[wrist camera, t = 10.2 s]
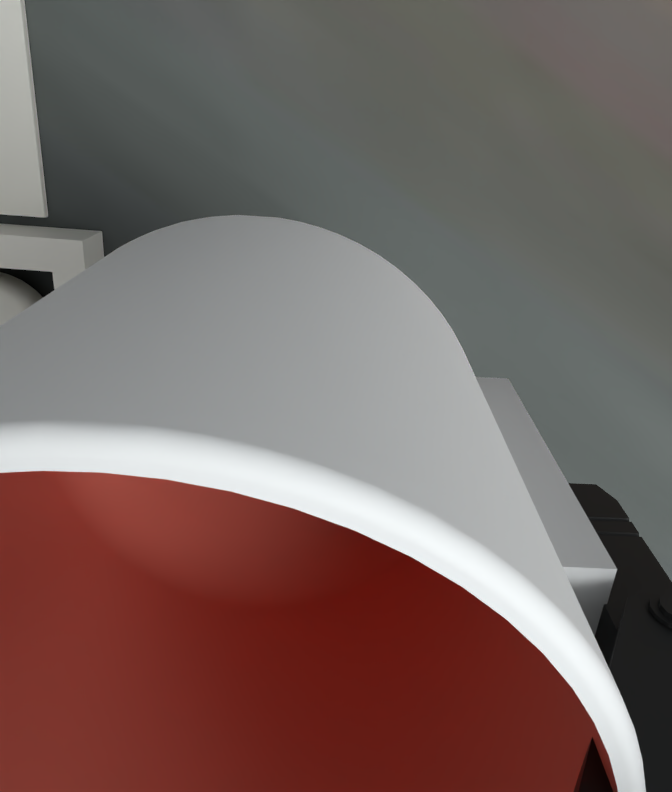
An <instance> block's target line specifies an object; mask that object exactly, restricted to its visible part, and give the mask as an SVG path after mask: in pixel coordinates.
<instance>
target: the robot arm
mask: <svg viewBox="0 0 672 792" xmlns="http://www.w3.org/2000/svg"><path fill="white" fill-rule="evenodd" d="M476 379H477V381H478V383H479V386H480V388H481V390H482V392H483V394H484V397H485V399H486V401H487V403H488V405H489V407H490V410H491V412H492V414H493V416H494V418H495V421H496V423H497V425H498V427H499V429H500V431H501V434H502V436H503V438H504V440H505V442H506V445H507V447H508V449H509V451H510V453H511V455H512V458H513V460H514V462H515V464H516V466H517V469H518V471H519V473H520V475H521V477H522V480H523V482H524V484H525V486H526V488H527V490H528V493H529V495H530V497H531V499H532V501H533V504H534V506H535V508H536V510H537V512H538V514H539V517H540V519H541V521H542V523H543V525H544V528H545V530H546V532H547V534H548V536H549V538H550V541H551V543H552V545H553V547H554V549H555V552H556V554H557V556H558V558H559V560H560V562H561V565H562V567H563V569H564V571H565V573H566V576H567V578H568V580H569V582H570V584H571V586H572V589H573V591H574V593H575V595H576V597H577V600H578V602H579V604H580V606H581V608H582V611H583V613H584V615H585V617H586V619H587V621H588V624H589V626H590V628H591V630H592V632H593V635H594V637H595V639H596V641H597V643H598V645H599V648H600V650H601V652H602V654H603V656H604V659H605V661H606V663H607V665H608V667H609V669H610V672H611V674H612V676H613V678H614V680H615V683H616V685H617V687H618V689H619V691H620V694H621V696H622V698H623V701H624V703H625V706H626V708H627V711H628V713H629V716H630V718H631V721H632V723H633V726H634V728H635V732H636V736H637V740H638V744H639V748H640V752H641V756H642V760H643V768H644V778H645V787H646V792H672V582H671V580H670V579H669V577H668V576H667V574H666V573H665V571H664V570H663V568H662V567H661V565H660V564H659V562H658V561H657V559H656V558H655V556H654V555H653V553H652V552H651V550H650V549H649V547H648V546H647V545H646V543H645V542H644V540H643V539H642V537H639V533H638V531H637V530H636V528H635V527H634V525H633V524H632V522H629V518H628V516H627V515H626V513H625V512H624V510H623V509H622V507H621V506H620V504H619V503H618V501H617V500H616V499H614V498H613V497H612V496H610V495H609V494H608V493H606V492H605V491H604V490H603V489H601V488H600V487H599V486H597V485H594V484H570V483H568V482H567V480H566V479H565V477H564V475H563V473H562V472H561V470H560V468H559V466H558V465H557V463H556V461H555V459H554V458H553V456H552V454H551V452H550V451H549V449H548V447H547V445H546V444H545V442H544V440H543V438H542V437H541V435H540V433H539V431H538V430H537V428H536V426H535V424H534V423H533V421H532V419H531V417H530V416H529V414H528V412H527V410H526V409H525V407H524V405H523V403H522V402H521V400H520V398H519V396H518V395H517V393H516V391H515V389H514V388H513V386H512V384H511V382H510V381H509V379H508V378H486V377H476ZM574 792H613V790H612V787H611V784H610V782H609V779H608V777H607V774H606V771H605V769H604V766H603V763H602V761H601V758H600V756H599V753H598V750H597V748H596V745H595V742H594V740H593V737H592V738H591V741H590V744H589V746H588V749H587V752H586V755H585V758H584V761H583V764H582V767H581V770H580V773H579V776H578V779H577V782H576V785H575V789H574Z"/></svg>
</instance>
